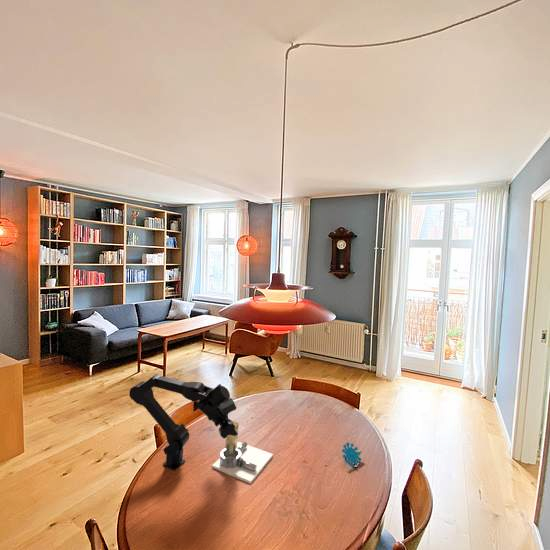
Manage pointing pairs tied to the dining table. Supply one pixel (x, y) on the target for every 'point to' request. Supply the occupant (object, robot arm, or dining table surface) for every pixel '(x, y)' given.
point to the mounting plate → (250, 456)
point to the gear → (351, 454)
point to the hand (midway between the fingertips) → (235, 431)
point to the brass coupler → (232, 439)
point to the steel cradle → (237, 460)
